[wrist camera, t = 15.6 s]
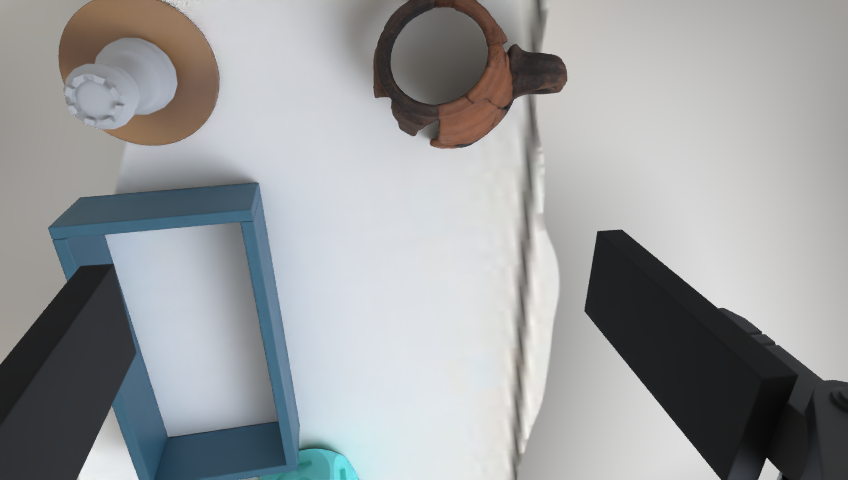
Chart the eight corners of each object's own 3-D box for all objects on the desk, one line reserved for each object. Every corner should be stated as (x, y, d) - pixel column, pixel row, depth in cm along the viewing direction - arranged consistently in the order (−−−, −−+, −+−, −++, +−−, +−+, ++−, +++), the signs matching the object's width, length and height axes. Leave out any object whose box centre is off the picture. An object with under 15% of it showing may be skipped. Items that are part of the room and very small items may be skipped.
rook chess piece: (159, 125, 35) (120, 162, 28) (87, 84, 33) (25, 113, 26) (192, 65, 34) (159, 89, 27) (119, 20, 32) (64, 32, 25)
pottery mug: (396, 163, 40) (369, 145, 32) (384, 33, 40) (353, -18, 32) (565, 143, 38) (582, 119, 30) (552, 8, 38) (566, -53, 30)
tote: (79, 197, 36) (47, 227, 32) (258, 182, 38) (251, 209, 34) (160, 445, 46) (144, 495, 42) (299, 425, 48) (298, 470, 44)
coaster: (39, -4, 31) (36, -4, 31) (203, -10, 33) (202, -10, 32) (86, 149, 35) (83, 150, 35) (231, 138, 37) (230, 140, 36)
